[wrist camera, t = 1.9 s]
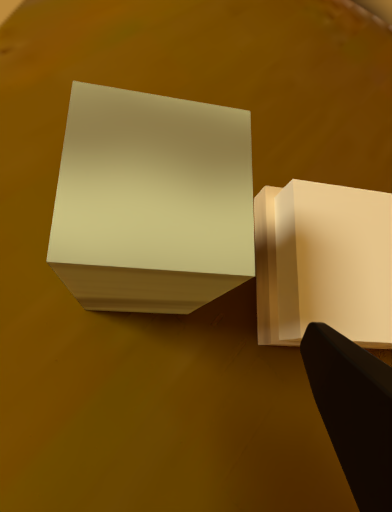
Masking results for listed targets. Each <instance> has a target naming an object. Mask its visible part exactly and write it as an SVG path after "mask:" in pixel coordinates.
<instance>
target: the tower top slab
mask: <svg viewBox="0 0 392 512" xmlns="http://www.w3.org/2000/svg"><path fill="white" fill-rule="evenodd" d="M274 201H275V232H276V263H277V293H278V324H279V340H285V341H301V340H302V338H303V335H304V333H305V330H306V328H307V326H308V324H309V323H310V322H323V323H326V324H327V325H329V326H330V327H332V328H333V329H335V330H336V331H338V332H339V333H341V334H342V335H344V336H345V337H347V338H348V339H350V340H351V341H353V342H354V343H356V344H367V345H387V346H392V194H391V193H384V192H377V191H370V190H364V189H357V188H350V187H343V186H337V185H330V184H323V183H317V182H310V181H303V180H296V179H292V180H291V181H290V182H289V183H288V184H287V185H286V186H285V187H284V188H283V189H282V190H281V191H280V192H279V193H278V194H277V195H276V196H275V197H274Z"/></svg>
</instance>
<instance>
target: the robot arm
mask: <svg viewBox="0 0 392 512" xmlns="http://www.w3.org/2000/svg"><path fill="white" fill-rule="evenodd" d="M300 351H301V355H302V359H303V362H304V365H305V369H306V372H307V376H308V379H309V383H310V386H311V389H312V393H313V396H314V399H315V402H316V404H317V407H318V409H319V412H320V414H321V417H322V419H323V422H324V424H325V427H326V429H327V432H328V434H329V437H330V439H331V442H332V444H333V447H334V449H335V452H336V454H337V456H338V459H339V461H340V464H341V466H342V469H343V471H344V474H345V476H346V479H347V481H348V484H349V486H350V489H351V491H352V494H353V496H354V499H355V501H356V503H357V506H358V508H359V511H360V512H392V367H390V366H389V365H387V364H386V363H384V362H383V361H381V360H380V359H378V358H377V357H375V356H374V355H372V354H371V353H369V352H368V351H366V350H365V349H363V348H362V347H360V346H359V345H357V344H356V343H354V342H353V341H351V340H350V339H348V338H347V337H345V336H344V335H342V334H341V333H339V332H338V331H336V330H335V329H333V328H332V327H330V326H329V325H327V324H326V323H323V322H310V323H309V324H308V326H307V328H306V330H305V333H304V335H303V338H302V340H301V343H300Z"/></svg>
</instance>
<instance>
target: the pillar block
mask: <svg viewBox="0 0 392 512" xmlns="http://www.w3.org/2000/svg"><path fill="white" fill-rule="evenodd" d="M46 262H47V263H48V264H49V266H50V267H51V268H52V269H53V271H54V272H55V273H56V274H57V276H58V277H59V278H60V279H61V281H62V282H63V283H64V284H65V286H66V287H67V288H68V289H69V291H70V292H71V293H72V294H73V296H74V297H75V298H76V299H77V301H78V302H79V303H80V304H81V306H82V307H83V308H84V309H85V310H98V311H121V312H144V313H166V314H189V313H191V312H193V311H194V310H196V309H198V308H200V307H201V306H203V305H205V304H207V303H209V302H210V301H212V300H214V299H216V298H217V297H219V296H221V295H223V294H225V293H226V292H228V291H230V290H232V289H233V288H235V287H237V286H239V285H240V284H242V283H244V282H246V281H248V280H249V279H251V278H253V277H255V254H254V220H253V187H252V153H251V120H250V111H247V110H241V109H235V108H229V107H223V106H217V105H212V104H206V103H200V102H194V101H188V100H182V99H176V98H171V97H165V96H159V95H153V94H147V93H141V92H135V91H130V90H124V89H118V88H112V87H106V86H100V85H95V84H89V83H83V82H77V81H73V84H72V91H71V98H70V105H69V112H68V118H67V125H66V132H65V139H64V146H63V152H62V159H61V166H60V173H59V180H58V186H57V193H56V200H55V207H54V214H53V220H52V227H51V234H50V241H49V248H48V254H47V261H46Z"/></svg>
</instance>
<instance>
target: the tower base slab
mask: <svg viewBox="0 0 392 512" xmlns="http://www.w3.org/2000/svg"><path fill="white" fill-rule="evenodd" d="M282 189H283V188H279V187H271V186H264V188H263V189H262V190H261V191H260V192H259V193H258V194H257V196H256V197H255V198H254V215H255V252H256V289H257V327H258V345H276V346H300V343H301V341H285V340H279V324H278V293H277V263H276V232H275V201H274V197H275V196H276V195H277V194H278V193H279V192H280V191H281V190H282ZM357 345H359V346H360V347H362V348H372V349H392V346H387V345H367V344H357Z"/></svg>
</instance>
